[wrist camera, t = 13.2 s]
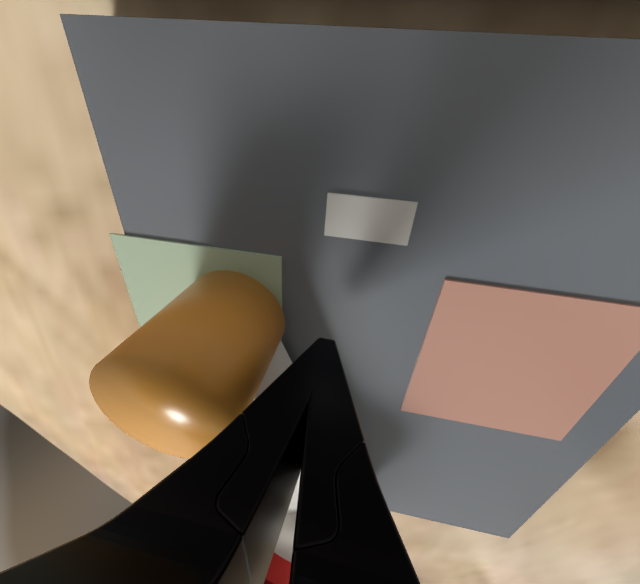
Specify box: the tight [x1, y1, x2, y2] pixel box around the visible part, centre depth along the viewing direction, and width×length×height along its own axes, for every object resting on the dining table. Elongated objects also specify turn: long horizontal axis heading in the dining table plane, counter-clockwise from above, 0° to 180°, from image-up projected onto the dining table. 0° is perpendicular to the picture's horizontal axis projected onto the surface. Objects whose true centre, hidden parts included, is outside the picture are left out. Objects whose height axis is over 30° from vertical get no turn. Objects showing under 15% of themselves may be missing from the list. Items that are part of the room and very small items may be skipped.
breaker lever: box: [89, 270, 301, 562], centre depth 10 cm, size 14×4×4 cm, turn 20°
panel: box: [60, 14, 640, 538], centre depth 12 cm, size 18×20×2 cm
